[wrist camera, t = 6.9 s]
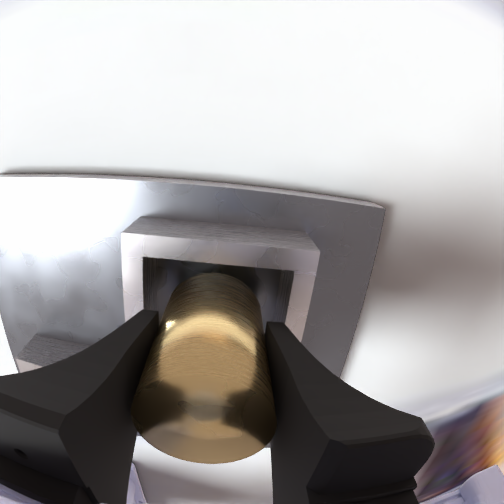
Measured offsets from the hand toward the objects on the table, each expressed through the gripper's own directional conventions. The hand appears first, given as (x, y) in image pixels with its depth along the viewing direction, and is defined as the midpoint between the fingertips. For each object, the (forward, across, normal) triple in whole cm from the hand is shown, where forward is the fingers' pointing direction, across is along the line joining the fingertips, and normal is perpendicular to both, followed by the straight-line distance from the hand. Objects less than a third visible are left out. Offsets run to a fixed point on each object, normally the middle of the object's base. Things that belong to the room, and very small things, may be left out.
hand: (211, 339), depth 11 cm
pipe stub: (+2, 0, 0) cm, 2 cm away
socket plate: (+5, +3, +3) cm, 6 cm away
